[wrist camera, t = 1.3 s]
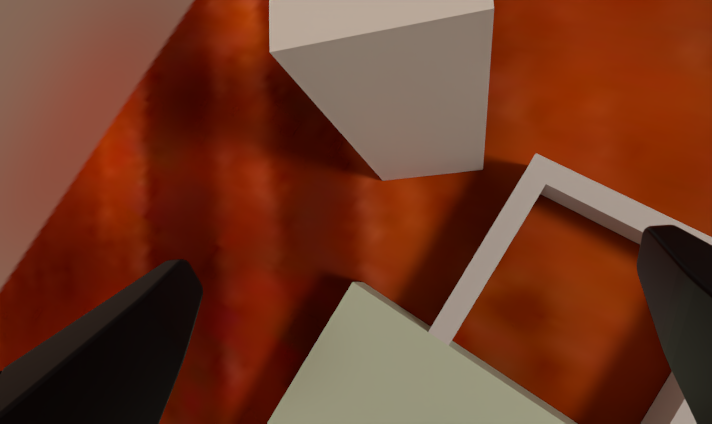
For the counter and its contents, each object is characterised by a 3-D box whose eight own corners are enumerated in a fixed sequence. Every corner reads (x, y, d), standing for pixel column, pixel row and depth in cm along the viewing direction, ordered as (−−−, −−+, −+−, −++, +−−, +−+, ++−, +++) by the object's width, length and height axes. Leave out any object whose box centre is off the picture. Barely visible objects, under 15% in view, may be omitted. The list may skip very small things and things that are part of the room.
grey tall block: (482, 169, 21) (494, 8, 9) (382, 180, 22) (269, 52, 10) (475, 93, 22) (475, -156, 10) (378, 107, 23) (268, -96, 11)
